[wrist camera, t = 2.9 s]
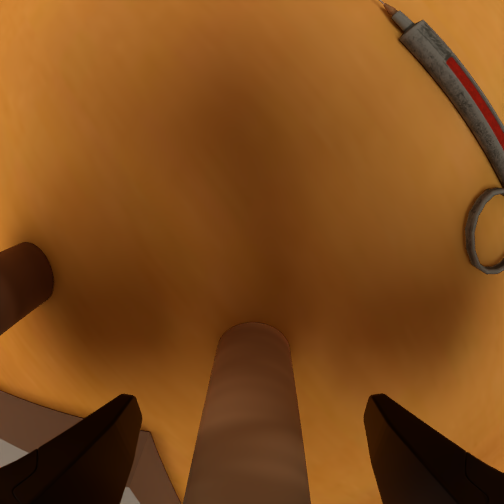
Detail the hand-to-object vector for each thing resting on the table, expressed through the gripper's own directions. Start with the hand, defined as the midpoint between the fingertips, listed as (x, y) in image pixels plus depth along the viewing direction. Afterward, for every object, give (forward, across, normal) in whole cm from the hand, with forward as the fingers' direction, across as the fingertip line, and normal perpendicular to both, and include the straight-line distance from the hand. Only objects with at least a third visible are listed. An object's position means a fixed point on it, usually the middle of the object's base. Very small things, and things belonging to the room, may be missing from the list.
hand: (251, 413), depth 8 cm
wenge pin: (+3, +9, -3) cm, 10 cm away
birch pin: (+3, 0, 0) cm, 3 cm away
